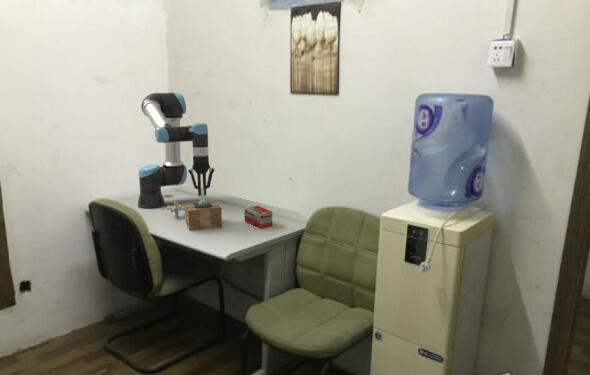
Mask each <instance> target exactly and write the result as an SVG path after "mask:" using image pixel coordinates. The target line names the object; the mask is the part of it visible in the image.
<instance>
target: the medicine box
mask: <svg viewBox="0 0 590 375" xmlns="http://www.w3.org/2000/svg"><path fill="white" fill-rule="evenodd" d="M243 215H244V223H246V224H248V225H250V224H251V225H250V226H252V225H253V226H252V227H254V226H255V227H254V228H256V227H258V228H263V229H266V228H265V227H267V228H272V227H273V211H272V210H269V209H267V208H265V207H262V206H260V205H253V206H249V207H244V214H243ZM258 228H257V229H258Z"/></svg>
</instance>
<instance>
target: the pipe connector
mask: <svg viewBox="0 0 590 375" xmlns="http://www.w3.org/2000/svg"><path fill="white" fill-rule="evenodd" d="M173 203H174V205H173V206H172V205H167V206H166V209H167V210H170V213H174V218H175V219H178V218H179V211H185V206H183V205H182V204H179V200H178V198H174V202H173Z"/></svg>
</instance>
